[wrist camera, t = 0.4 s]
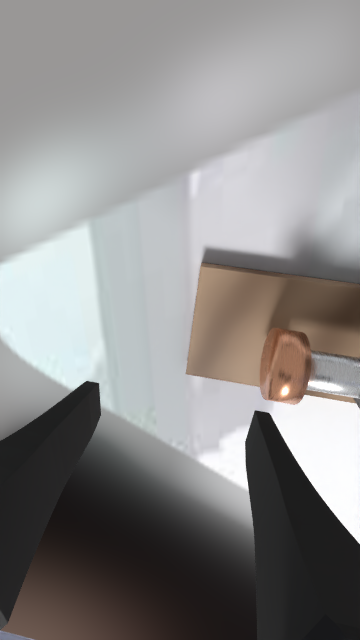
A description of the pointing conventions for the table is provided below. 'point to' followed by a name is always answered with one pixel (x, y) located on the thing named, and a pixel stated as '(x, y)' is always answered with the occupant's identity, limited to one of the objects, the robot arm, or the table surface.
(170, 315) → the table surface
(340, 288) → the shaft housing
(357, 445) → the table surface
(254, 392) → the table surface
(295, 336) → the shaft
